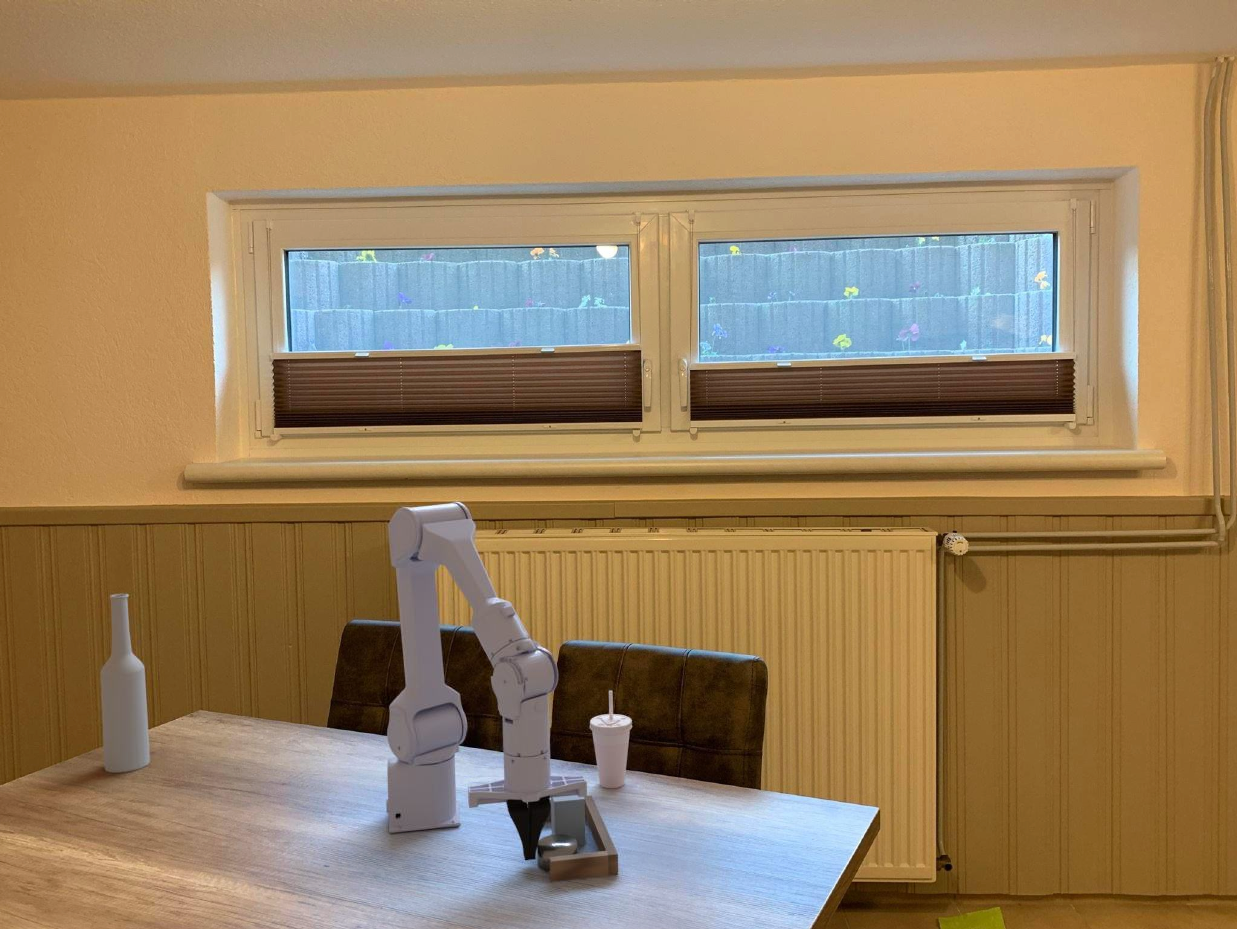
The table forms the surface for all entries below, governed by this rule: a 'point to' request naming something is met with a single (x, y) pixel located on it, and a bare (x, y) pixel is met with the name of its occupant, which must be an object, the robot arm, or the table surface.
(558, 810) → the grey block
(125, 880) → the table surface
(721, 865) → the table surface
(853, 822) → the table surface
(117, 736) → the bottle
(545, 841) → the grey puck
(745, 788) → the table surface
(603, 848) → the walnut bay
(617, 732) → the smoothie
